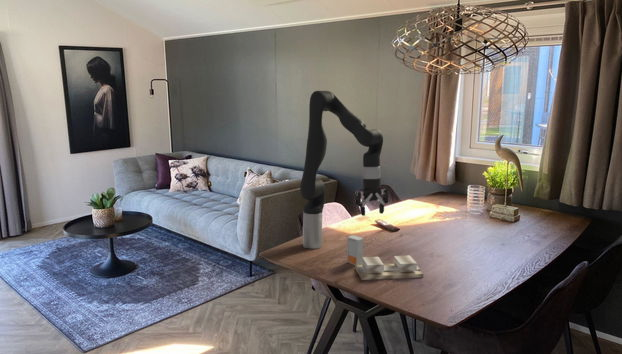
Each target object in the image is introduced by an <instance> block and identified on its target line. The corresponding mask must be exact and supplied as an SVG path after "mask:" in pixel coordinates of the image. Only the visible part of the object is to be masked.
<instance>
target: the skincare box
mask: <svg viewBox="0 0 622 354" xmlns="http://www.w3.org/2000/svg"><path fill="white" fill-rule="evenodd" d="M346 252H347V253H346V263H347V264H348V263H349V264H351V265H354V266H356V265H362V257H364V237H361V236H357V235H355V234H354V235H353V234H352V235H349V236H348V237H347V249H346Z"/></svg>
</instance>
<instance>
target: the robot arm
mask: <svg viewBox="0 0 622 354" xmlns="http://www.w3.org/2000/svg"><path fill="white" fill-rule="evenodd" d="M308 105H309V107H308V109H309V113H308V116H309V117H308V118H309V119H308V130H307V131H308V133H307V140H306V150H305V158H304V159H305V160H304V166H303V172H302V177H301V181H300V182H301V183H300V187H299V188H300V190H299V191H300V194H301V197H302V198H303V200H305V201H307V202H306V203H305V205H303V210H302V211H303V213H302V214H303V218H302V220H303V222H302V223H303V224H302V246H303V248H304V249H311V250H312V249H313V250H315V249H320V248H322V246H323V209H324V206H325V199H326V196H325V195H326V186H325V183H324V182H323V180H322V179H320V178H317V174H318V171H319V168H320V167H321V165H322V163H323V161H324V159H325V156H326V154H327V145H328V138H327V135H326V132H325V130H324V125H323V113H324V112H330V113H332V114H334V115H335V116H336V117H337V118H338V120H339V122H340V124H341V125H342V126H343V127H344V129H345V130H347V131H348V132H349V133H351V134H352V135H353V136H354V138H355V139H356V140H357V142H358V143H359V145H361V146H363V147H367V148H368V150H367V151H366V152H364V153H363V156H362V166H363V167H362V191H356V192H355V205H356V206H358V207H359V212H360V214H361V216H366V207H365V206H366V205H367V203H368V202H373V201H377V202H378V203H379V204H378V205H379V206H378V210H379V214H382V215H383V214H384V211H385V204H388V203H389V194H388V193H389V191H388V189H386V188H383V189H381V187H382V186H381V185H382V184H381V183H382V182H381V181H382V180H381V178H382V175H381V173H382V172H381V159H380V158H381V153H382V148H383V144H384V135H383V133H382V132H381V130H379V129H378V128H377V129H376V128H374V129H367V124H366V123H365V122H364V121H363V120H362V119H361V118H359V117H358V116H357V115H355V114H354V112H352V111H351V110H349V109H348V108H347V107H346V106H345V104H344V103H342V101H341V100H340V99H339V98H338V97H337V96H336V95H335V93H333V92H332V91H329V90H315V91H313V92H312V93H311V95H310V98H309V104H308ZM381 195H382V197H381ZM362 196H363V197H362Z"/></svg>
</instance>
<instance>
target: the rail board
mask: <svg viewBox="0 0 622 354" xmlns="http://www.w3.org/2000/svg"><path fill="white" fill-rule="evenodd" d="M355 270H356V272H357V273H358V275H359V278H360V280H362V281H365V280H369V281H370V280H387V279H388V280H389V279H391V280H392V279H410V278H424V272H423V271H421V268H420V266H419V265H418V263H417V261H416V260H414V258H413V257H412V256H411V255H393V263H383V261H382V259H381V258H380V257H379V256H363V257H362V264H360V265H355Z"/></svg>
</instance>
